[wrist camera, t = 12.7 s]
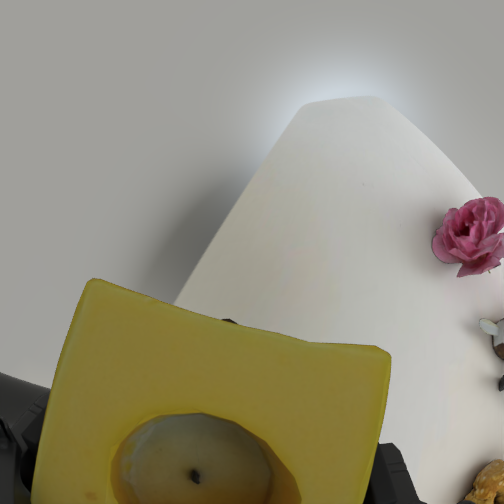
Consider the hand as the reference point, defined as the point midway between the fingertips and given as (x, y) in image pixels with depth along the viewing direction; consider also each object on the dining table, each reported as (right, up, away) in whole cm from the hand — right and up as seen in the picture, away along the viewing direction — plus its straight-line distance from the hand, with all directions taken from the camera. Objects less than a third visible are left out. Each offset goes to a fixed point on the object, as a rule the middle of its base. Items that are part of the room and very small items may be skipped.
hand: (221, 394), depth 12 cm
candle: (-1, -5, +2) cm, 5 cm away
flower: (+27, +6, +19) cm, 34 cm away
